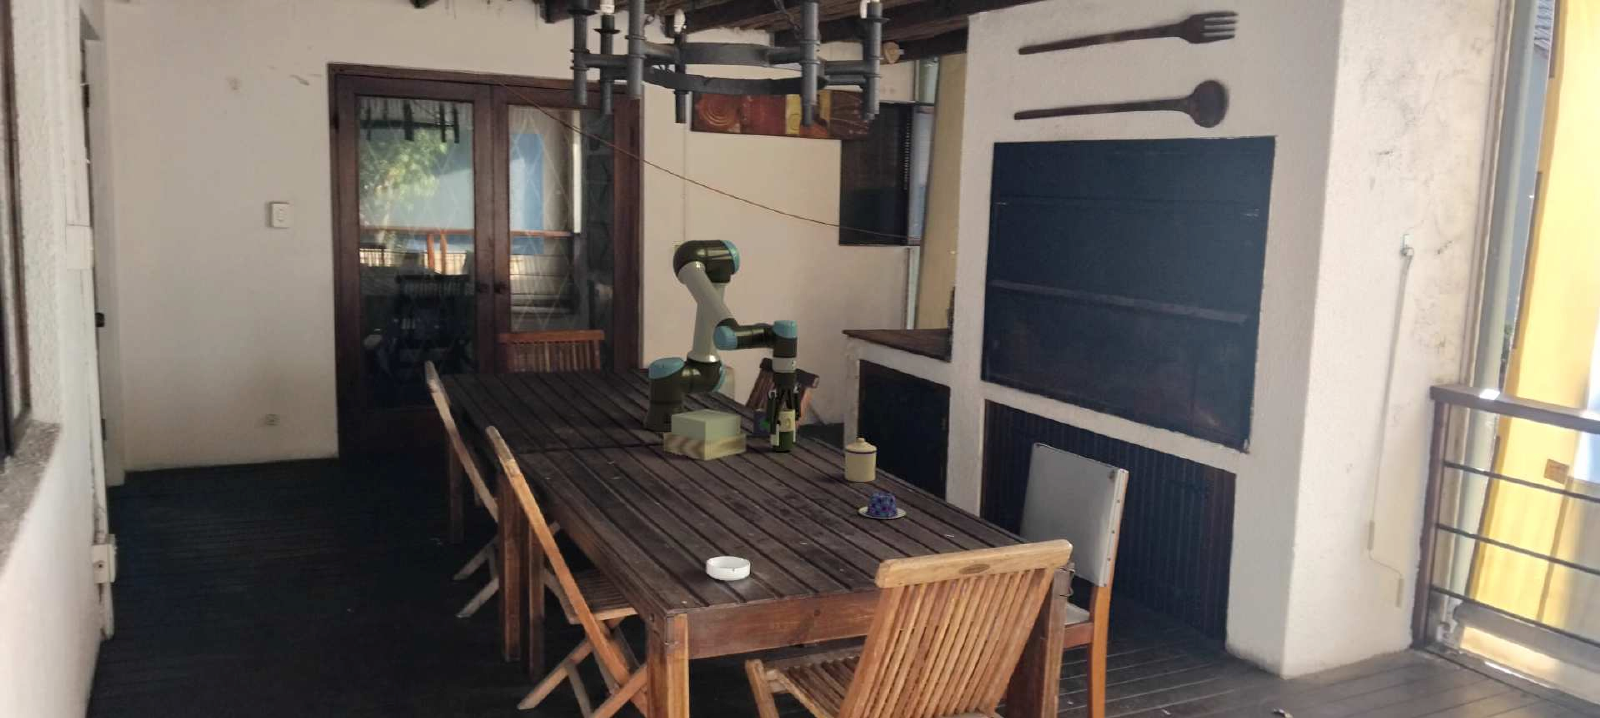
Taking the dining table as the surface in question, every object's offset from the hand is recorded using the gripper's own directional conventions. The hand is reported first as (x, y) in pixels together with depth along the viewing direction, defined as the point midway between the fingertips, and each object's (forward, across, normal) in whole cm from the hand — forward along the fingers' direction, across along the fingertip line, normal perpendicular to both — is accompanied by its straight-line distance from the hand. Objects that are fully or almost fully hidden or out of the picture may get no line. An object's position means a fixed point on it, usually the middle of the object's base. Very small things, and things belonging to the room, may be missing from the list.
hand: (782, 442), depth 372 cm
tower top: (-3, -18, +16) cm, 24 cm away
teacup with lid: (+3, -11, -38) cm, 40 cm away
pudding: (+3, -37, -66) cm, 76 cm away
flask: (+3, +12, +18) cm, 22 cm away
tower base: (+3, -18, +16) cm, 25 cm away
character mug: (+3, 0, 0) cm, 3 cm away
